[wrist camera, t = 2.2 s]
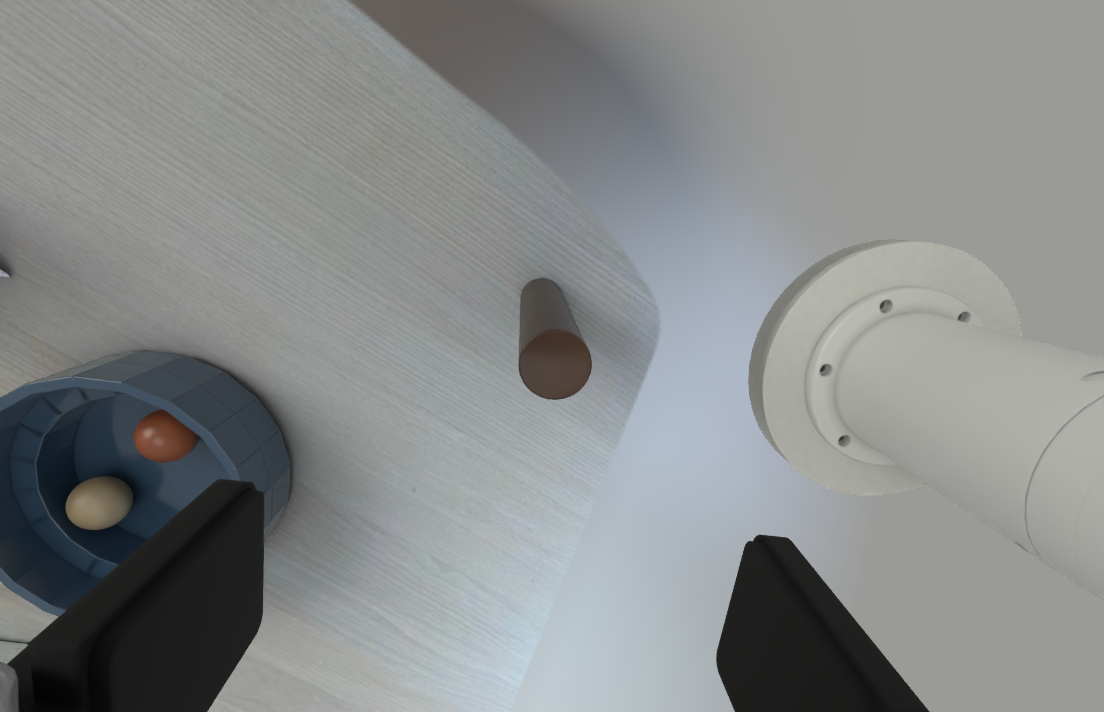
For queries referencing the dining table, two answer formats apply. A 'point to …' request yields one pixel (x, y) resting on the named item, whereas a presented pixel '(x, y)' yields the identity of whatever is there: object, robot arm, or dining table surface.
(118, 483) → the bead
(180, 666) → the robot arm
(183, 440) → the bead
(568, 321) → the stick
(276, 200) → the dining table surface
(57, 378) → the bowl
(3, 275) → the water lily
